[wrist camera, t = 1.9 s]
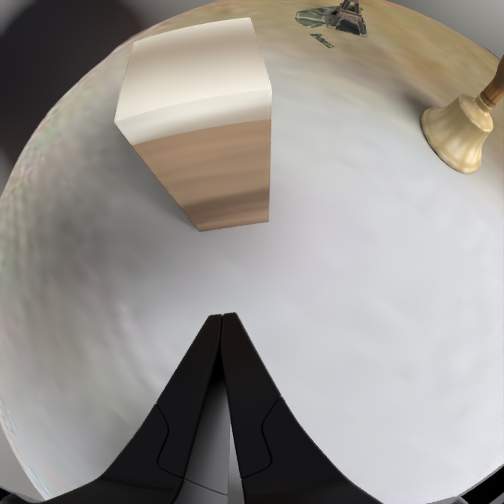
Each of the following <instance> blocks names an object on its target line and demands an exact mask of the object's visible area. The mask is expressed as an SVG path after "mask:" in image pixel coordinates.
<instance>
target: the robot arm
mask: <svg viewBox="0 0 504 504" xmlns="http://www.w3.org/2000/svg"><path fill="white" fill-rule="evenodd" d="M230 420H231V426H232V432H233V438H234V444H235V450H236V456H237V461H238V466H239V472H240V477H241V479H242V480H241V482H242V488H243V494H244V503H245V504H383V503H382V502H380V501H379V500H377V499H376V498H374V497H373V496H371V495H370V494H368V493H367V492H365V491H364V490H362V489H361V488H359V487H358V486H357V485H355V484H354V483H353V482H351V481H350V480H349V479H348V478H347V477H346V476H345V475H344V474H342V473H341V472H340V471H339V470H338V468H337V467H336V466H335V465H334V464H333V463H332V462H331V461H330V460H329V459H328V458H327V456H326V455H325V454H324V453H323V452H322V451H321V450H320V448H319V447H318V446H317V445H316V444H315V443H314V441H313V440H312V439H311V438H310V437H309V436H308V434H307V433H306V432H305V430H304V429H303V428H302V427H301V425H300V424H299V423H298V421H297V420H296V418H295V417H294V415H293V413H292V412H291V410H290V409H289V407H288V406H287V404H286V402H285V400H284V399H283V397H281V394H280V392H279V390H278V388H277V387H276V385H275V383H274V381H273V379H272V378H271V376H270V374H269V372H268V370H267V369H266V367H265V365H264V363H263V361H262V360H261V358H260V356H259V354H258V352H257V350H256V349H255V347H254V345H253V343H252V341H251V339H250V337H249V336H248V334H247V332H246V330H245V328H244V326H243V324H242V322H241V320H240V319H239V317H238V315H237V313H235V312H233V313H225V314H223V315H222V314H216V315H210V316H209V317H208V318H207V320H206V321H205V323H204V325H203V326H202V328H201V329H200V331H199V333H198V334H197V336H196V338H195V339H194V341H193V343H192V344H191V346H190V347H189V349H188V351H187V352H186V354H185V356H184V357H183V359H182V361H181V362H180V364H179V365H178V367H177V369H176V370H175V372H174V374H173V375H172V377H171V379H170V380H169V382H168V384H167V385H166V387H165V389H164V390H163V392H162V393H161V395H160V397H159V398H158V400H157V404H155V405H154V406H153V408H152V410H151V411H150V413H149V415H148V416H147V418H146V419H145V421H144V422H143V424H142V425H141V427H140V428H139V430H138V431H137V432H136V434H135V435H134V436H133V438H132V439H131V440H130V442H129V443H128V444H127V445H126V447H125V448H124V449H123V450H122V452H121V453H120V454H119V455H118V457H117V458H116V459H115V460H114V462H113V463H112V464H111V465H110V466H109V468H108V469H107V470H106V471H105V472H104V473H103V474H102V475H101V476H99V477H98V478H97V479H95V480H94V481H92V482H90V483H88V484H86V485H83V486H81V487H79V488H77V489H74V490H72V491H70V492H67V493H65V494H62V495H60V496H57V497H55V498H52V499H49V500H47V501H43V502H41V501H38V500H35V499H33V498H30V497H28V496H25V495H22V494H20V493H16V492H12V491H10V490H8V489H6V488H4V487H2V486H0V504H228V496H227V495H228V472H229V444H230ZM428 504H504V464H503V465H501V466H500V467H499V468H497V469H496V470H495V471H493V472H492V473H491V474H489V475H488V476H487V477H485V478H484V479H483V480H481V481H480V482H478V483H477V484H475V485H474V486H472V487H471V488H469V489H468V490H466V491H465V492H463V493H462V494H460V495H458V496H457V497H451V498H448V499H444V500H440V501H437V502H433V503H428Z"/></svg>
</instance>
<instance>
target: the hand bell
mask: <svg viewBox="0 0 504 504" xmlns="http://www.w3.org/2000/svg"><path fill="white" fill-rule="evenodd" d="M503 95H504V55H503V57H502V59H501V61H500V63H499V65H498V69H497V72H496V75H495V77H494V79H493V80H492V81H491V83H490V84H489V85H488V86H487V87H486V88H485V89H484V91H482V92H481V93H480V95H478V97H477V98H474V97H473V96H471V95H468V94H462V95H460V96H459V97H458V98H457V99H456V100H455V101H453V102H452V103H451V104H449V105H448V106H446V107H431V108H428V109H427V110H425V111H424V113H423V114H422V118H421V124H422V129H423V132H424V135H425V137H426V139H427V141H428V143H429V144H430V145H431V147H432V148H433V150H434V151H435V152H436V153H437V154H438V156H439V157H440V158H441V159H442V160H443V161H444V162H446V163H447V164H448V165H449V166H450V167H452V168H454V169H455V170H457V171H460V172H462V173H467V174H468V173H469V174H470V173H474V172H475V171H477V170H478V168H479V166H480V164H481V158H482V155H481V148H482V145H483V143H484V141H485V139H486V138H487V136H488V135H489V133H490V132H491V131H492V129H493V122H492V118H491V116H490V114H489V111H490V110H491V109H492V108H493V107H494V106H495V105H496V103H497V102H498V101H499V100H500V99H501V97H502V96H503Z"/></svg>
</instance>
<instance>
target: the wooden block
mask: <svg viewBox="0 0 504 504" xmlns="http://www.w3.org/2000/svg"><path fill="white" fill-rule="evenodd" d="M271 109H272V88H271V84H270V81H269V77H268V74H267V70H266V67H265V63H264V60H263V57H262V53H261V50H260V47H259V44H258V40H257V37H256V34H255V31H254V28H253V25H252V22H251V19H250V18H240V19H232V20H224V21H218V22H212V23H206V24H200V25H195V26H191V27H186V28H182V29H177V30H173V31H169V32H166V33H162V34H158V35H155V36H151V37H148V38H145V39H142V40H139V41H136V42H134V44H133V47H132V50H131V53H130V57H129V60H128V64H127V67H126V71H125V75H124V79H123V83H122V87H121V91H120V95H119V100H118V105H117V109H116V115H115V120H114V123H115V124H116V125H117V127H118V128H119V129H120V131H121V132H122V133H123V135H124V136H125V137H126V139H127V140H128V141H129V142H130V144H131V145H132V146H133V148H134V149H135V150H136V152H137V153H138V154H139V155H140V157H141V158H142V159H143V161H144V162H145V163H146V165H147V166H148V167H149V168H150V170H151V171H152V172H153V173H154V175H155V176H156V177H157V179H158V180H159V181H160V182H161V184H162V185H163V186H164V187H165V189H166V190H167V191H168V193H169V194H170V195H171V196H172V198H173V199H174V200H175V201H176V203H177V204H178V205H179V206H180V208H181V209H182V210H183V211H184V213H185V214H186V215H187V216H188V217H189V219H190V220H191V221H192V222H193V224H194V225H195V226H196V227H197V229H198V230H199V231H200V232H201V231H208V230H214V229H221V228H228V227H235V226H241V225H248V224H255V223H263V222H268V219H269V190H270V155H271Z"/></svg>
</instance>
